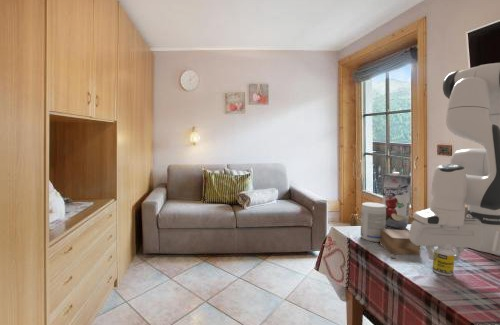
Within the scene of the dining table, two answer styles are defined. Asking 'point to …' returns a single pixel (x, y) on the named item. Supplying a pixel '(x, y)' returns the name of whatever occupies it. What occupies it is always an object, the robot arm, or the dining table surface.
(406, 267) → the dining table surface
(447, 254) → the supplement bottle
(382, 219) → the supplement tub
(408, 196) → the juice carton
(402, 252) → the walnut block
